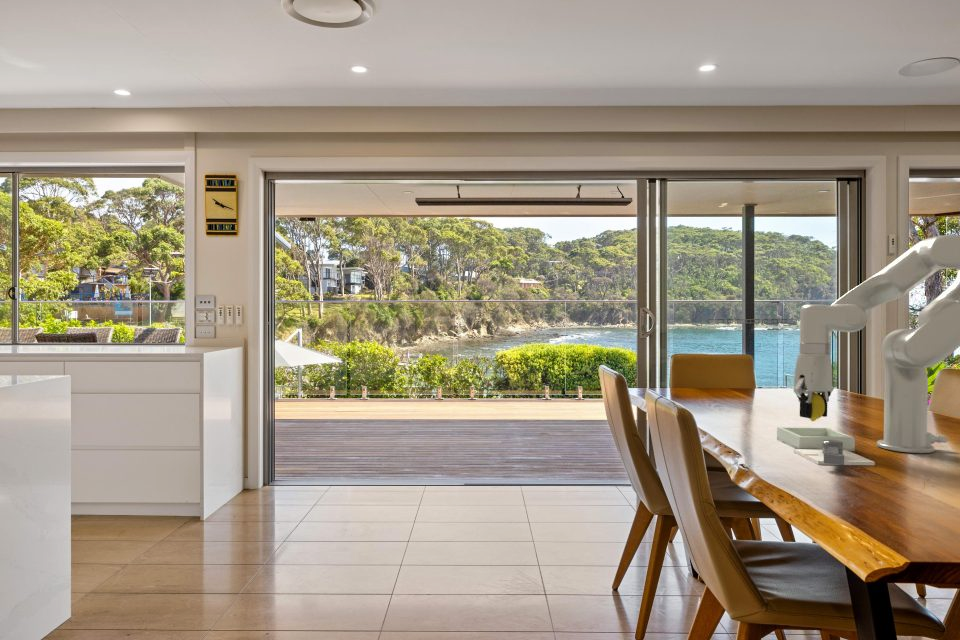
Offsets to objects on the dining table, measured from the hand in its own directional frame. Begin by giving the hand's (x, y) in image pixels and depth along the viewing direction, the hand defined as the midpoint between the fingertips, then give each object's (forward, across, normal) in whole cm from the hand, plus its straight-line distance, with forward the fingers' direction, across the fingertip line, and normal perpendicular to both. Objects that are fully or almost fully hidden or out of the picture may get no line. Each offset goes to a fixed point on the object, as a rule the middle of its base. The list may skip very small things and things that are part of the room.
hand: (813, 416), depth 172 cm
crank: (+7, +15, +16) cm, 23 cm away
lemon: (+2, 0, 0) cm, 2 cm away
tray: (+8, 0, 0) cm, 8 cm away
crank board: (+8, +10, +13) cm, 18 cm away
